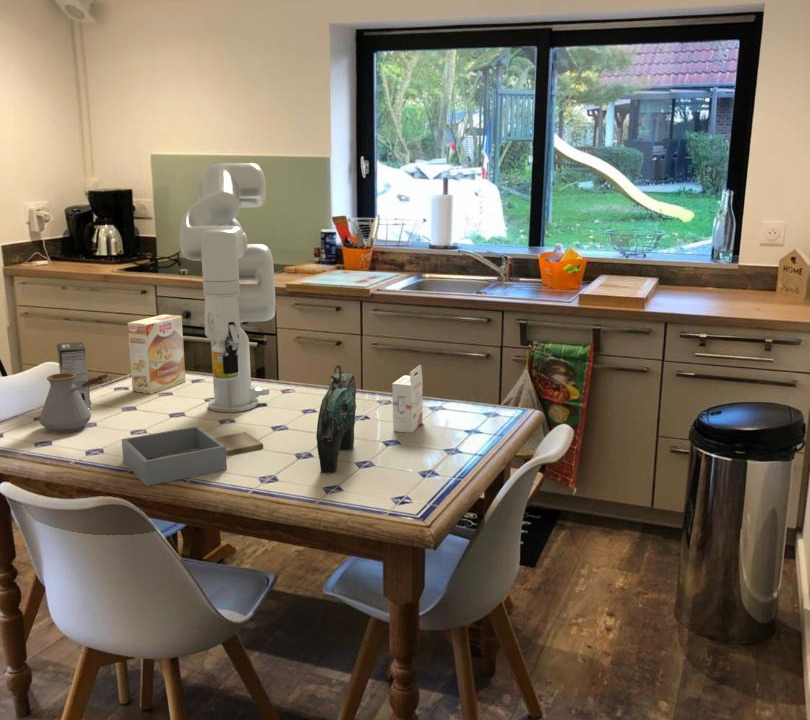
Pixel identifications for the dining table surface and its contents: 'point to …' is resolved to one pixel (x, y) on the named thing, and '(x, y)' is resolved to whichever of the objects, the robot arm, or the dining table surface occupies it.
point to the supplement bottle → (221, 363)
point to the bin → (173, 466)
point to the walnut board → (239, 443)
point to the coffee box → (75, 365)
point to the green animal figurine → (336, 420)
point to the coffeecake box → (156, 353)
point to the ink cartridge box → (408, 402)
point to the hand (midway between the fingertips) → (225, 369)
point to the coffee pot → (66, 404)
